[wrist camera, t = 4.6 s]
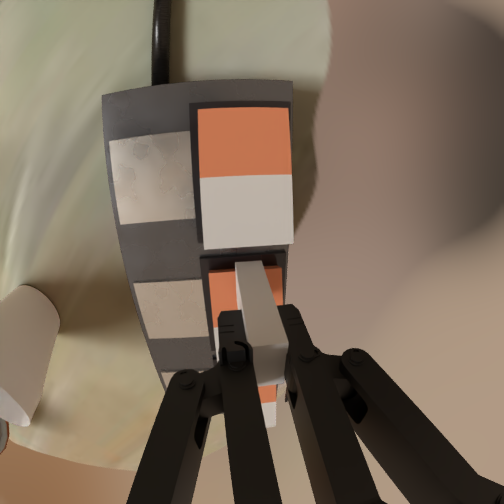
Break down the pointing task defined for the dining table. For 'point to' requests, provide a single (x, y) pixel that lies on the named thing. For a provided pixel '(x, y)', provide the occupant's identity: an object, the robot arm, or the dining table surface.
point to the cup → (25, 351)
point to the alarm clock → (3, 434)
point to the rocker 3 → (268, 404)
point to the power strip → (174, 202)
